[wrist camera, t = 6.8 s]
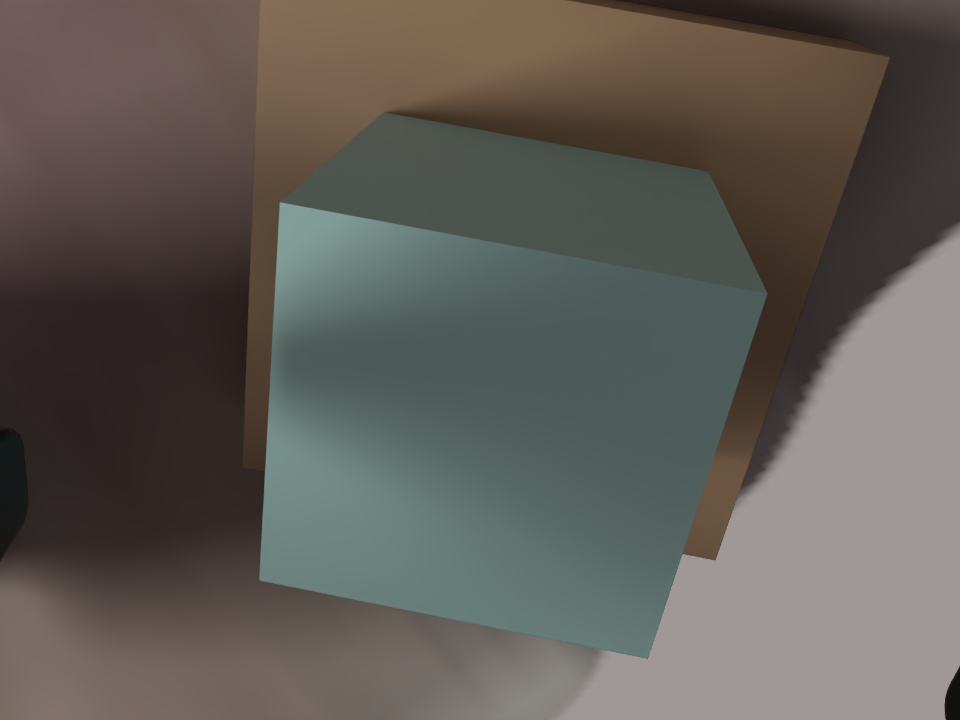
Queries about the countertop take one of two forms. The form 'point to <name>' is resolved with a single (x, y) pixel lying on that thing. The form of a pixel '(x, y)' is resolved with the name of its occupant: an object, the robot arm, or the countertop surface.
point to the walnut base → (578, 139)
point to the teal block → (499, 379)
